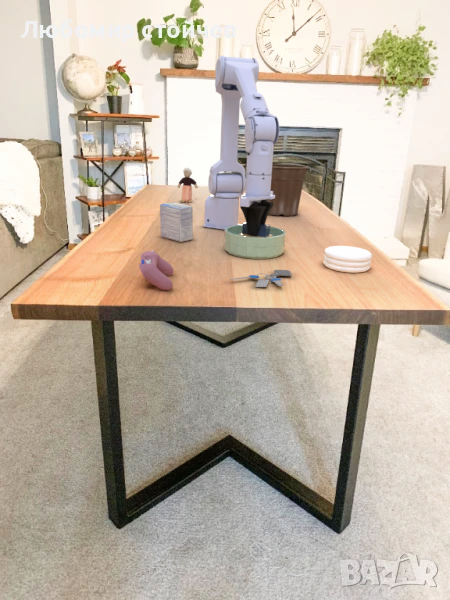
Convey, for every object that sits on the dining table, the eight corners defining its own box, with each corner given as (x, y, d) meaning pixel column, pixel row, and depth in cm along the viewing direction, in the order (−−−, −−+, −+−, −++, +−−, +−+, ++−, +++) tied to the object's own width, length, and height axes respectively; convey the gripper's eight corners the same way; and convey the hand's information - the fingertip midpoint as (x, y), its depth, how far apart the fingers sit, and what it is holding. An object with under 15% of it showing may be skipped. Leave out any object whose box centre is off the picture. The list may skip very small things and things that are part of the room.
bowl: (213, 253, 103) (214, 232, 101) (240, 241, 115) (240, 222, 113) (270, 263, 97) (272, 240, 95) (292, 249, 109) (293, 229, 107)
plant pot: (271, 207, 165) (275, 162, 159) (311, 213, 156) (316, 165, 150) (248, 213, 153) (250, 164, 147) (289, 219, 144) (294, 168, 138)
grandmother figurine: (177, 202, 168) (177, 167, 163) (177, 200, 172) (177, 166, 167) (197, 203, 169) (198, 168, 164) (197, 201, 172) (197, 167, 168)
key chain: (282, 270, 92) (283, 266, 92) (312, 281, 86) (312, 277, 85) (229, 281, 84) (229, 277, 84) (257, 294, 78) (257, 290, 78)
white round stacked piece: (313, 262, 99) (315, 246, 98) (350, 258, 103) (352, 243, 101) (341, 275, 90) (343, 258, 89) (379, 271, 94) (382, 255, 93)
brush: (237, 246, 105) (238, 223, 103) (245, 243, 109) (246, 220, 107) (264, 251, 102) (266, 227, 100) (272, 247, 106) (273, 224, 104)
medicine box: (193, 240, 114) (193, 206, 111) (180, 242, 111) (180, 208, 108) (173, 234, 119) (172, 202, 116) (160, 237, 116) (159, 203, 113)
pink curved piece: (155, 281, 87) (137, 250, 85) (175, 271, 87) (158, 240, 84) (151, 299, 78) (132, 265, 76) (174, 289, 78) (155, 254, 75)
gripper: (262, 178, 91) (258, 242, 96) (286, 173, 104) (282, 230, 108) (232, 175, 94) (229, 237, 99) (259, 170, 106) (255, 226, 111)
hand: (255, 233), depth 104 cm, fingers closed on brush, 2 cm apart
